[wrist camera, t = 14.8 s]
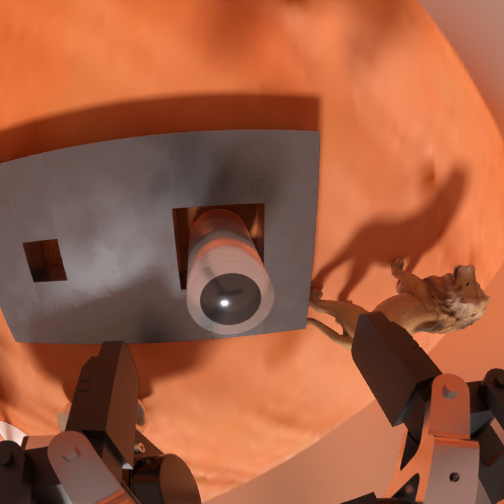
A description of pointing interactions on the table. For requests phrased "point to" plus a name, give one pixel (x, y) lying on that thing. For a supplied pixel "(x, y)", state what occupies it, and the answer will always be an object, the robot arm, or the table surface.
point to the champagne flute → (11, 432)
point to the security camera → (143, 466)
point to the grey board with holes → (149, 231)
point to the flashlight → (226, 275)
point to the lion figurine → (412, 304)
